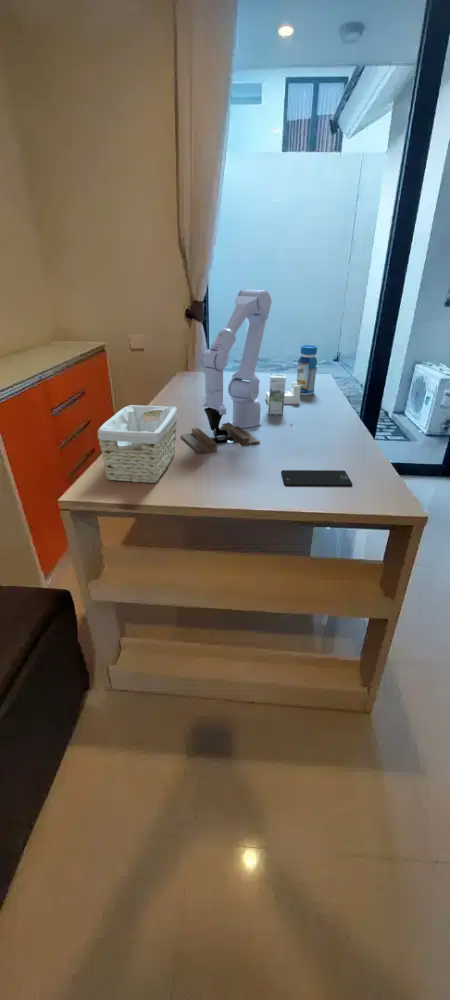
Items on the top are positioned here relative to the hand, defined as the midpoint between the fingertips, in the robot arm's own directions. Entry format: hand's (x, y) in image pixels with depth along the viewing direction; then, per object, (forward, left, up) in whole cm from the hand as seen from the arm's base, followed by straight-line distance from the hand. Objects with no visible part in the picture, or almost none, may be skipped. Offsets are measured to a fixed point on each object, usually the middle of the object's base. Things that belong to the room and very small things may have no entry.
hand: (214, 429), depth 146 cm
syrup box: (-32, -14, -2) cm, 35 cm away
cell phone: (-12, +41, -3) cm, 43 cm away
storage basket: (+28, +14, -3) cm, 32 cm away
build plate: (0, +4, -3) cm, 5 cm away
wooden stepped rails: (0, +4, -2) cm, 5 cm away
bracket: (-43, -26, -3) cm, 50 cm away
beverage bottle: (-59, -34, -2) cm, 68 cm away
